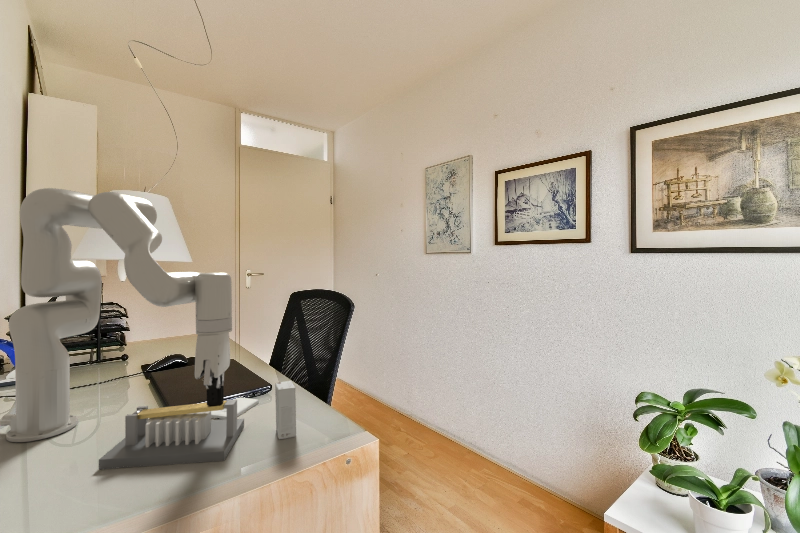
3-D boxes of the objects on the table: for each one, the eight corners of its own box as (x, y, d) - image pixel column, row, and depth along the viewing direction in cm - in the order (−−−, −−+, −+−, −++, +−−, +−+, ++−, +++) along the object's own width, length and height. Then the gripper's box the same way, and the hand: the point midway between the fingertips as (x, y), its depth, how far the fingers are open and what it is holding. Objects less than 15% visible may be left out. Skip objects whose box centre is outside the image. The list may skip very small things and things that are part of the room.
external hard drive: (258, 404, 108) (231, 422, 96) (235, 402, 110) (204, 419, 98) (259, 399, 108) (231, 416, 96) (235, 396, 110) (204, 413, 98)
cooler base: (98, 469, 73) (98, 423, 73) (141, 432, 89) (141, 393, 89) (224, 460, 77) (224, 416, 77) (244, 426, 93) (244, 389, 93)
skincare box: (296, 436, 88) (297, 387, 88) (277, 440, 86) (278, 390, 86) (292, 426, 93) (293, 379, 93) (274, 429, 91) (274, 382, 91)
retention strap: (129, 421, 80) (129, 414, 80) (137, 415, 83) (136, 409, 83) (223, 411, 83) (222, 404, 83) (227, 405, 86) (226, 399, 86)
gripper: (208, 320, 90) (209, 393, 91) (182, 332, 76) (184, 419, 76) (240, 320, 92) (241, 391, 92) (220, 331, 77) (222, 416, 77)
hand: (215, 403), depth 84 cm, fingers closed
